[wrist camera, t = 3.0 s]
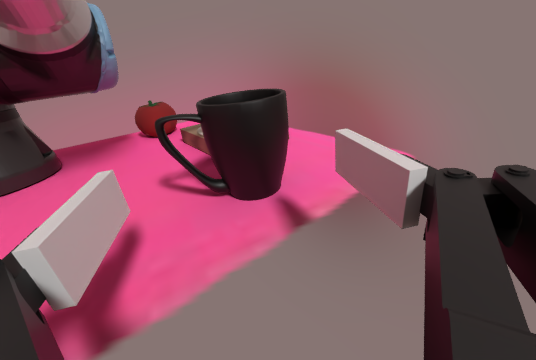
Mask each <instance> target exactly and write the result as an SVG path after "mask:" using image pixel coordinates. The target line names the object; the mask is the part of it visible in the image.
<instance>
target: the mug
mask: <svg viewBox="0 0 536 360" xmlns="http://www.w3.org/2000/svg"><path fill="white" fill-rule="evenodd" d="M196 107H197V111H198V114H178V115H170V116H165V117H161V118H159V119H157V120H156V121H155V130H156V134H157V136H158V139H159V141H160V143H161V145H162V146H163V147H164V148H165V150H166V151H167V152H168V153H169V154H170V155H171V156H172V157H173V158H175V159H176V160H177V161H178V162H179V163H180V164H181V165H182V166H184V167H185V168H186V169H187V170H188V171H189V172H190V173H192V174H193V175H194V176H195V177H196V178H197V179H198V180H200V181H201V182H202V183H203V184H205V185H206V186H207V187H209V188H210V189H212V190H213V191H215V192H218V193H228V192H230V194H231V195H232V196H233V197H235V198H237V199H240V200H258V199H263V198H266V197H269V196H271V195H273V194H274V193H276V192H277V191H278V190H279V189H280V186H281V180H282V175H283V171H284V166H285V161H286V155H287V146H288V113H287V101H286V92H285V91H284V90H281V89H257V90H247V91H239V92H232V93H226V94H222V95H216V96H212V97H209V98H205V99H203V100H201V101H199V102H197V104H196ZM173 120H187V121H193V122H197V123H200V124H201V128H202V132H203V136H204V140H205V142H206V145H207V148H208V151H209V153H210V155H211V158H212V160H213V162H214V164H215V166H216V168H217V170H218V172H219V174H220V175H221V177H222V179H214V178H211V177H209V176H207V175H205V174H204V173H202V172H201V171H200V170H198V169H197V168H196V167H195V166H193V165H192V164H191V163H190V162H189V161H188V160H187V159H186V158H185V157H184V156H183V155H182V154H181V153H180V152H179V151H178V150H177V149H176V148H175V147H174V145H173V144H172V143H171V141H170V140H169V138H168V137H167V135H166V132H165V129H164V125H165V123H167V122H169V121H173Z"/></svg>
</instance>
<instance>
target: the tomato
mask: <svg viewBox="0 0 536 360" xmlns="http://www.w3.org/2000/svg"><path fill="white" fill-rule="evenodd" d="M148 102H149V104H148V105H144V106H141V107H139V108H138V110H137V112H136V115H135V122H136V124H137V126H138V128H139V129H140V130H141V131H142V132H143V133H144V134H146V135H148V136H153V137H158V136H157V134H156V130H155V121H156V120H157V119H159V118H161V117H165V116H170V115H176V113H175V111H174V110H173V108H171V106H169V105H168V104H166V103H164V102H158V103H154V104H152V102H151V101H148ZM176 124H177V120H173V121H169V122H167V123H165V125H164V129H165V132H166V134H168V133H170V132H172V131H173V130H174V129H175V128H176Z"/></svg>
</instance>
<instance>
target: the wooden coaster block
mask: <svg viewBox="0 0 536 360" xmlns="http://www.w3.org/2000/svg"><path fill="white" fill-rule="evenodd" d="M180 130H181V134H182V138H183V141H184V143H186V144H188V145H190V146H192V147H195V148H197V149H199V150H201V151H203V152H205V153H207V154H209V155H210V153H209V151H208V148H207V145H206V142H205V140H204V136H203V132H202V128H201V124H198V125H194V126H190V127H186V128H182V129H180ZM288 139H289V133H288Z"/></svg>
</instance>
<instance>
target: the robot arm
mask: <svg viewBox="0 0 536 360" xmlns="http://www.w3.org/2000/svg"><path fill="white" fill-rule="evenodd" d="M117 82H118V67H117V61H116V57H115V54H114V49H113V43H112V40H111V36H110V33H109V30H108V27H107V24H106V21H105V19H104V16H103V14H102V12H101V10H100V9H99V8H98V7H97V6H96V5H94V4H89V3H87V2H86V1H85V0H0V196H1V195H4V194H7V193H10V192H13V191H16V190H19V189H21V188H24V187H26V186H29V185H31V184H34V183H36V182H38V181H40V180H42V179H45V178H46V177H48V176H50V175H52V174H54V173H55V172H56V171H58V170H59V169H60V168H61V163H60V161H59V159H58V157H57V156H56V154H55V153H54V151H53V150H51V149H50V148H49V147H48V146H47V145H46V144H45V143H44V142H43V141H42V140H41V139H40V138H39V137H38V136H37V135H36V134H34V132H33V131H32V130H31V129H30V128H29V127H27V126H26V125H25V123H24V122H23V121H22V119H21V117H20V115H19V113H18V112H17V110H16V108H15V106H14V104H16V103H22V102H28V101H35V100H42V99H49V98H56V97H63V96H70V95H78V94H85V93H97V92H98V91H101V90H106V89H110V88H113V87H114V86H116V84H117ZM335 149H336V172H337V173H338V174H339V175H341V176H342V177H343V178H344V179H345V180H346V181H347V182H349V183H350V184H351V185H352V186H353V187H354V188H356V189H357V190H358V191H359V192H360V193H361V194H362V195H364V196H365V197H366V198H367V199H368V200H369V201H370V202H372V203H373V204H374V205H375V206H376V207H377V208H378V209H380V210H381V211H382V212H383V213H384V214H385V215H386V216H388V217H389V218H390V219H391V220H392V221H393V222H394V223H396V224H397V225H398V226H399V227H400V228H401V229H404V228H409V227H413V226H417V225H418V223H419V216H420V213H421V214H422V215H424V216H425V217H426V218H427V222H426V228H425V233H424V238H423V240H425V241H426V245H425V312H424V317H425V318H424V360H536V334H533V333H531V332H530V331H529V328H528V326H527V323H526V320H525V317H524V314H523V311H522V308H521V305H520V302H519V300H518V297H517V293H516V291H515V288H514V285H513V282H512V279H511V276H510V273H509V270H508V267H507V265H508V266H509V267H510V269H511V270H512V272H513V273H514V274H515V276H516V277H517V278H518V280H519V281H520V282H521V284H522V285H523V286H524V288H525V289H526V290H527V292H528V293H529V295H530V296H531V297H532V299H533V300H534V301H535V303H536V170H534V169H531V168H527V167H526V166H520V165H503V166H498V167H496V168H495V170H494V173H493V177H492V178H477V177H476V176H475V174H473V173H471V172H469V171H466V170H463V169H457V168H444V169H440V170H437V169H435V168H432V167H430V166H428V165H426V164H424V163H421V162H420V161H418V160H414V158H411V157H409V156H407V155H404V154H399V153H397V152H395V151H393V150H391V149H389V148H387V147H385V146H382V145H380V144H378V143H376V142H374V141H372V140H370V139H368V138H366V137H364V136H362V135H360V134H357V133H355V132H353V131H351V130H349V129H342V130H336V131H335ZM129 213H130V209H129V207H128V205H127V202H126V200H125V198H124V195H123V193H122V191H121V188H120V186H119V183H118V181H117V179H116V176H115V174H114V172H113V170H109V171H103V172H98V173H97V174H96V175H95V176H94V177H93V178H92V179H90V180H89V181H88V182H87V183H86V184H85V185H84V186H83V187H82V188H81V189H80V190H79V191H77V192H76V193H75V194H74V195H73V196H72V197H71V198H70V199H69V200H68V201H67V202H66V203H64V204H63V205H62V206H61V207H60V208H59V209H58V210H57V211H56V212H55V213H54V214H53V215H51V216H50V217H49V218H48V219H47V220H46V221H45V222H44V223H43V224H42V225H41V226H39V227H38V228H36V229H35V230H34V231H33V232H32V233H31V234H30V235H28V236H27V238H25V239H24V240H23V241H22V242H21V243H20V245H18V246H16V247H15V248H14V249H13V250H12V251H11V252H10V253H9V254H8V255H7V256H5V257H4V258H3V259H2V260H1V259H0V360H64V358H63V356H62V353H61V351H60V349H59V347H58V345H57V343H56V340H55V338H54V336H53V334H52V332H51V330H50V328H49V325H48V323H47V321H46V319H45V317H44V315H43V314H42V313H41V311H40V310H39V308H40V307H41V305H42V304H43V302H44V301H45V300H47V302H48V303H49V305H50V306H51V307H52V309H53V310H54V311H55V310H60V309H64V308H68V307H72V306H77V304H78V302H79V300H80V299H81V297H82V295H83V293H84V292H85V290H86V288H87V286H88V285H89V283H90V281H91V279H92V278H93V276H94V274H95V272H96V271H97V269H98V267H99V265H100V264H101V262H102V260H103V259H104V257H105V255H106V253H107V252H108V250H109V248H110V246H111V245H112V243H113V241H114V239H115V238H116V236H117V234H118V232H119V231H120V229H121V227H122V225H123V224H124V222H125V220H126V218H127V217H128V215H129Z"/></svg>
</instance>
